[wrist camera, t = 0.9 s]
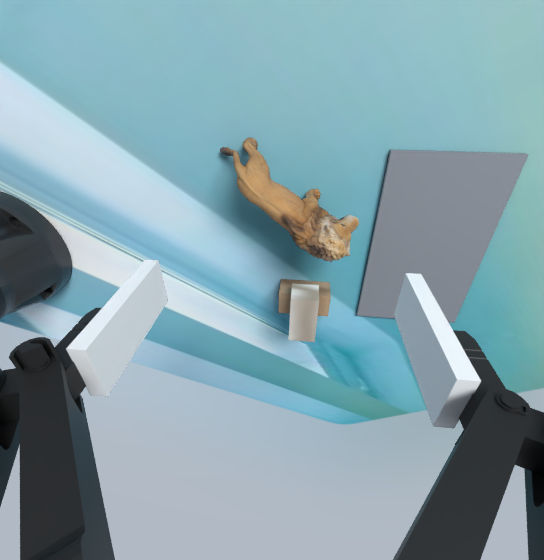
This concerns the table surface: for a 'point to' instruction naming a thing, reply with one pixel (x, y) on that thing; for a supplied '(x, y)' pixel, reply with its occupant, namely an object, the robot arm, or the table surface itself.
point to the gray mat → (435, 224)
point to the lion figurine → (293, 208)
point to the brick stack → (304, 306)
